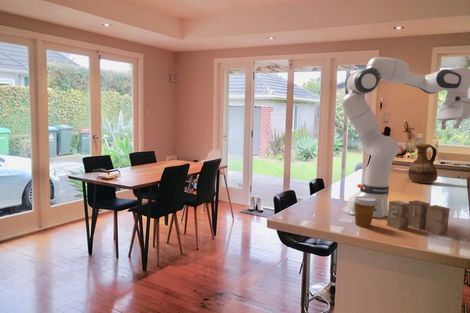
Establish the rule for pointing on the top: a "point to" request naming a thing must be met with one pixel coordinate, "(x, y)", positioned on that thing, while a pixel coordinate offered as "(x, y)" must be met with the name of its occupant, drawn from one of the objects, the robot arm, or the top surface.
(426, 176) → the ceramic pitcher
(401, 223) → the walnut block numbered 2
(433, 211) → the plain walnut block
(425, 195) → the top surface
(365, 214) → the disposable coffee cup
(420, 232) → the top surface
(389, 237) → the top surface
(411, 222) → the walnut block numbered 1
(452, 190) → the top surface
